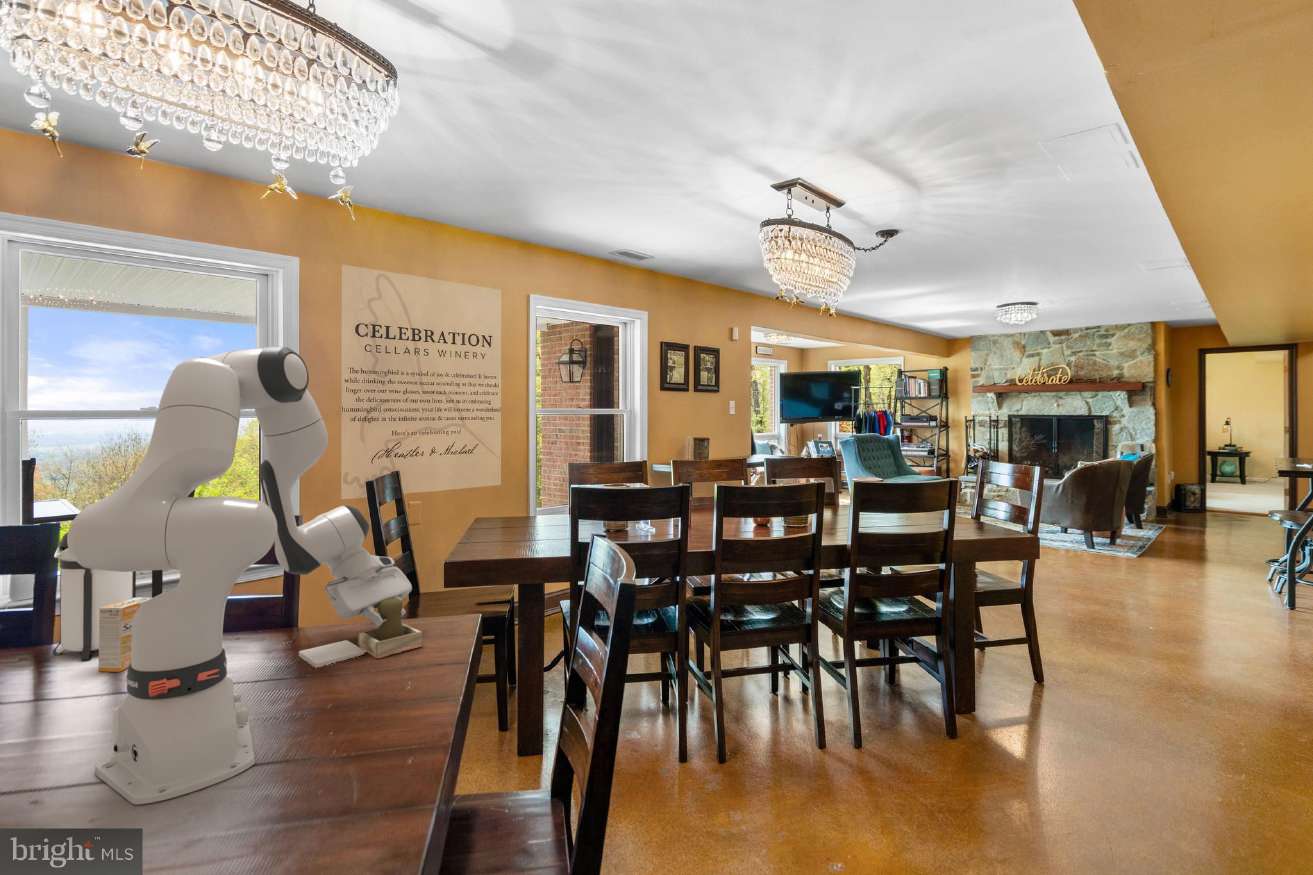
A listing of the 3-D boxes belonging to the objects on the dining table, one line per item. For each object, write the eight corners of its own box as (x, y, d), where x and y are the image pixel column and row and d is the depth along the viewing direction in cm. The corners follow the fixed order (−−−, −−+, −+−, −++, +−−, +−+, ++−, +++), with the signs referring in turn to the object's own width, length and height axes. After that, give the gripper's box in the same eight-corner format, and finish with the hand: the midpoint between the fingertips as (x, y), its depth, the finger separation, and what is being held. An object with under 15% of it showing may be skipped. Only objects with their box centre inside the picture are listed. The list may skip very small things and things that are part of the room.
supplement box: (120, 672, 122) (121, 607, 122) (97, 672, 122) (97, 607, 122) (155, 657, 130) (155, 596, 130) (133, 656, 130) (134, 596, 130)
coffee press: (131, 656, 130) (132, 518, 130) (34, 666, 124) (35, 521, 124) (163, 631, 146) (164, 508, 146) (78, 639, 140) (79, 510, 140)
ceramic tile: (364, 655, 133) (364, 650, 133) (315, 668, 125) (315, 663, 125) (346, 644, 140) (346, 639, 140) (298, 655, 132) (298, 651, 132)
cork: (409, 643, 141) (409, 596, 141) (395, 652, 135) (396, 603, 135) (384, 642, 141) (385, 595, 141) (369, 651, 135) (370, 602, 135)
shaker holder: (421, 647, 138) (422, 631, 138) (377, 659, 131) (377, 643, 131) (401, 636, 145) (401, 622, 145) (358, 647, 138) (358, 632, 138)
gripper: (329, 574, 130) (366, 624, 127) (396, 556, 149) (429, 599, 147) (313, 593, 131) (349, 643, 128) (381, 572, 151) (413, 615, 148)
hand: (392, 619), depth 138 cm, fingers closed on cork, 5 cm apart
